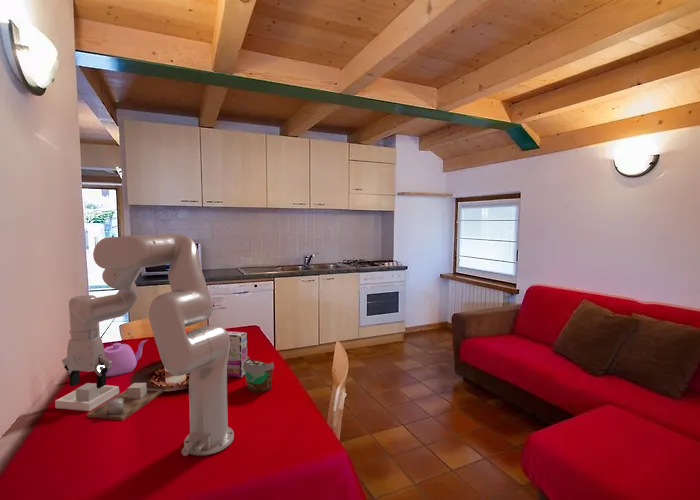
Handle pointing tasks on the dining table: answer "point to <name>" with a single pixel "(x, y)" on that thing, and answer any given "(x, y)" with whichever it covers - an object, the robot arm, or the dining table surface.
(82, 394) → the stone cube
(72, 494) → the dining table surface
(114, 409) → the pebble round
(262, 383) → the food container
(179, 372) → the robot arm
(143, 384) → the white cube
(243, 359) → the candy bar box
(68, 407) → the dish
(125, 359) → the teapot
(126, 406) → the walnut tray
